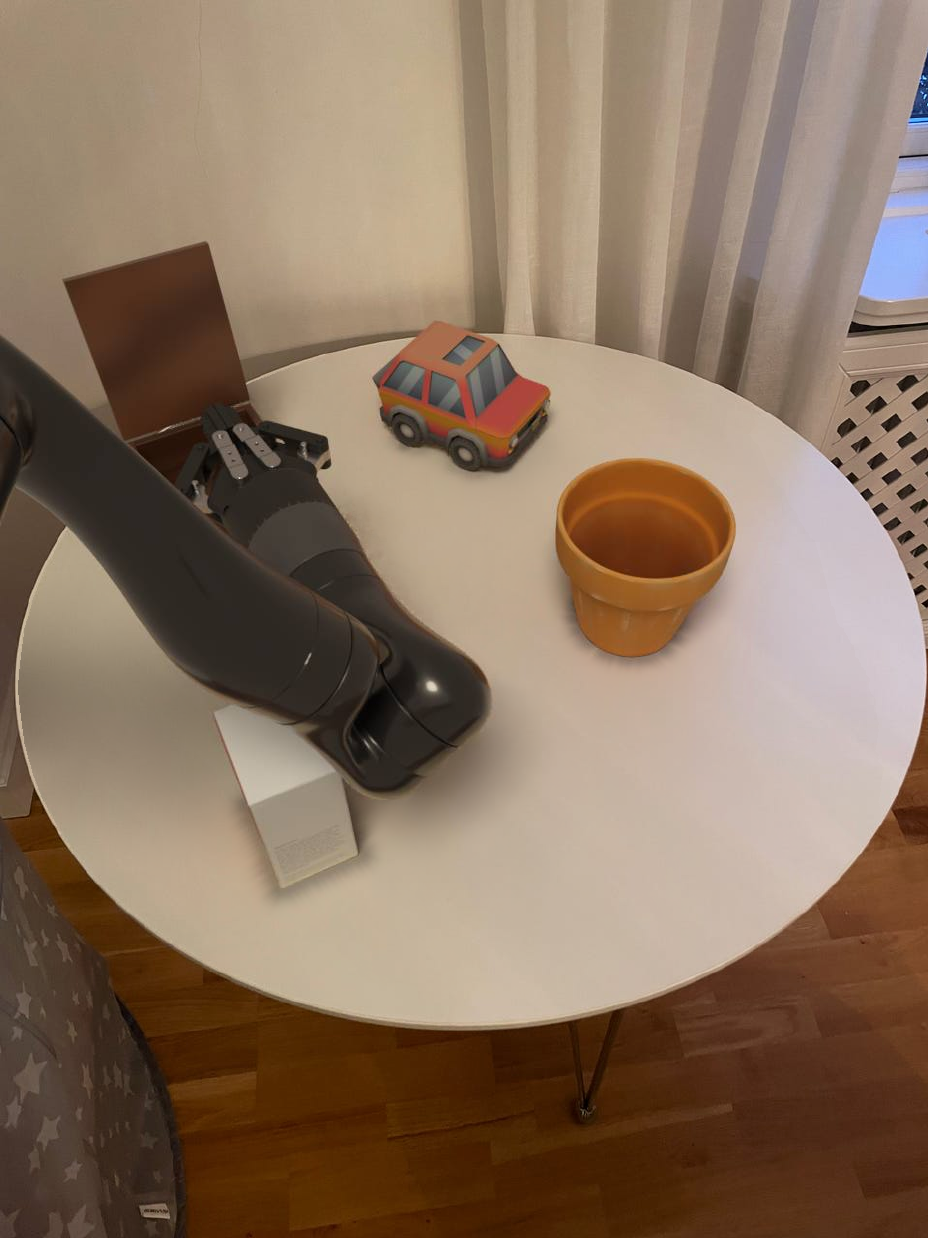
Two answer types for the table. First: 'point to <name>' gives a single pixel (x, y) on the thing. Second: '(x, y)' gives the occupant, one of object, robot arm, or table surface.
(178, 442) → the case
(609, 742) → the table surface
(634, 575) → the flower pot
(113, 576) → the robot arm
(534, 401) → the toy car
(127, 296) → the lid
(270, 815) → the small box
